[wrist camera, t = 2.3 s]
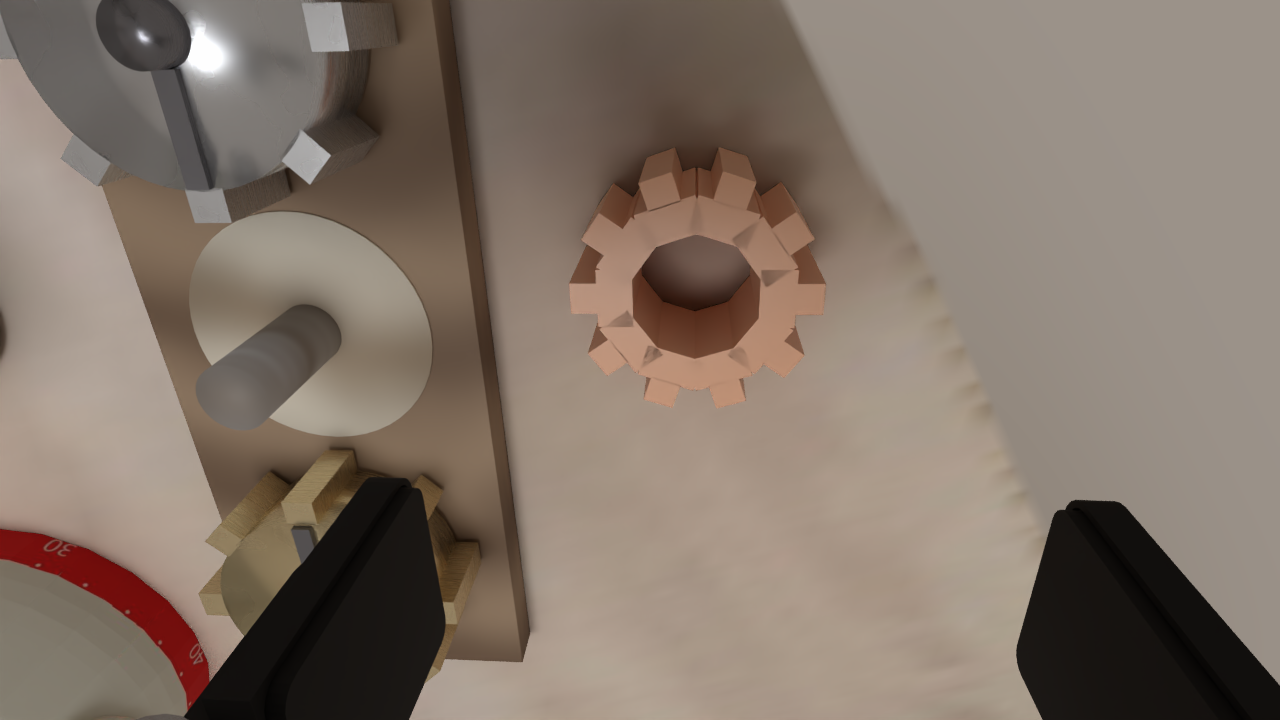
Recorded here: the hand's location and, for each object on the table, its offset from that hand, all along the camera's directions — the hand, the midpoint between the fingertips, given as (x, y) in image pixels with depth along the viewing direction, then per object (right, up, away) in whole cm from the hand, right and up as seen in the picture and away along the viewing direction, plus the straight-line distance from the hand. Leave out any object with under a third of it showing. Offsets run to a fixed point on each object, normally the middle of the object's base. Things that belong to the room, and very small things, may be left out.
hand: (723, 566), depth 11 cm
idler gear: (+1, +6, +12) cm, 14 cm away
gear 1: (-12, +12, +8) cm, 19 cm away
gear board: (-12, +5, +14) cm, 19 cm away
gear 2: (-12, -4, +16) cm, 21 cm away
